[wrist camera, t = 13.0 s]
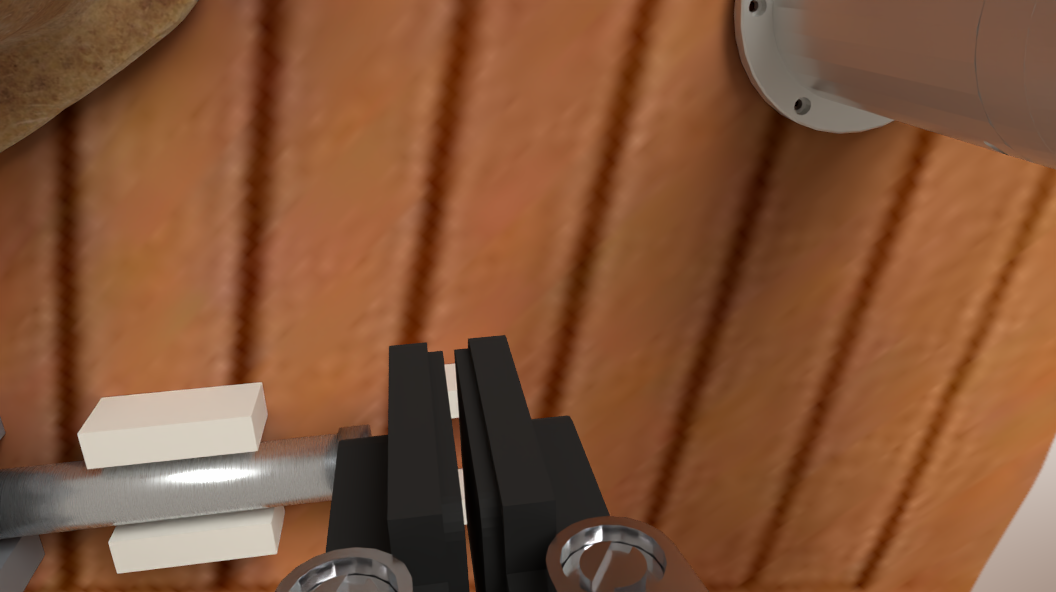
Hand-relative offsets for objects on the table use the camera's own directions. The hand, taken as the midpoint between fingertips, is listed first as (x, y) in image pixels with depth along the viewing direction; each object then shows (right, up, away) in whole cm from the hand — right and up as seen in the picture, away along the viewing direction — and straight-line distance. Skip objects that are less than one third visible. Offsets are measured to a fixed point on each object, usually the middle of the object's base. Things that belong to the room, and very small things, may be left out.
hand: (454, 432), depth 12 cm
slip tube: (-19, -7, +31) cm, 37 cm away
